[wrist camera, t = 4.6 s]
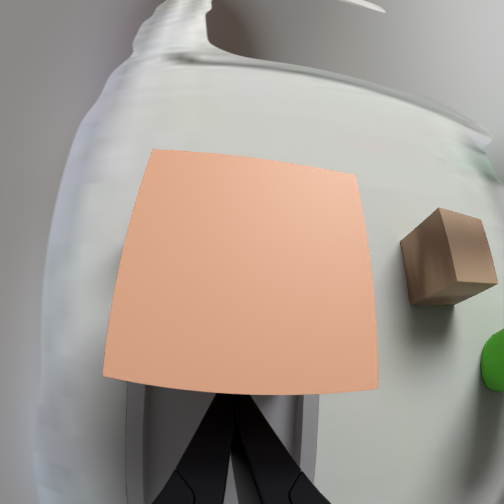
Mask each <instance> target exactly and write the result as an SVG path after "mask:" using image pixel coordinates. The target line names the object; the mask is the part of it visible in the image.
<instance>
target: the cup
mask: <svg viewBox="0 0 504 504" xmlns="http://www.w3.org/2000/svg"><path fill="white" fill-rule="evenodd" d="M481 372H482V378H483V380H484V383H485V385H486V386H487V387H488V388H489V389H492V390H493V391H499V392H504V329H502V330H501V331H499V332H497V333H496V334H494V335H492V337H491V338H490V339H489V340H488V341H487V342H486V344H485V346H484V349H483V352H482V357H481Z"/></svg>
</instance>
